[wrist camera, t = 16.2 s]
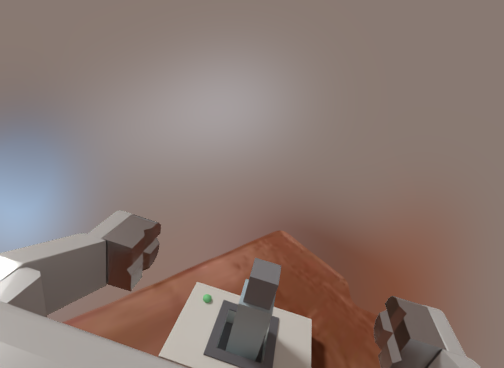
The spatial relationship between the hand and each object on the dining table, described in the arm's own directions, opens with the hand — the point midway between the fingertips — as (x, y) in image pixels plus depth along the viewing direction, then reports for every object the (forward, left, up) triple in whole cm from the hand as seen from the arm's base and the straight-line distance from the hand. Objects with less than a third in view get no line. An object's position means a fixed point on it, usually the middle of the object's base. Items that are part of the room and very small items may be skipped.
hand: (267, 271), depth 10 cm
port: (-4, -17, -30) cm, 35 cm away
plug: (-4, -17, -29) cm, 34 cm away
